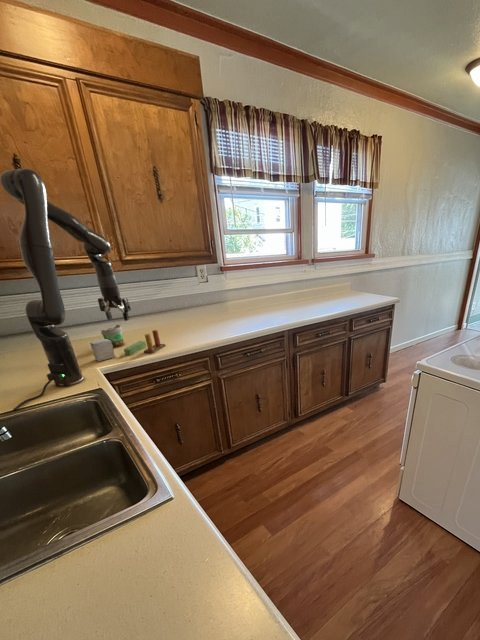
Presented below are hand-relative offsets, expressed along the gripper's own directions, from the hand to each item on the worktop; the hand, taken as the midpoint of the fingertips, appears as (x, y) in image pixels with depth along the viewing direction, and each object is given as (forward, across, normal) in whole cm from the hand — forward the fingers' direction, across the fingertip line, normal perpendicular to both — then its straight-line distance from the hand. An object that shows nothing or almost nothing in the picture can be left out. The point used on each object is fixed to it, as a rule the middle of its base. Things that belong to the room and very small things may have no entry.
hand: (118, 320), depth 158 cm
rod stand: (+18, +10, +8) cm, 22 cm away
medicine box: (+17, -7, -8) cm, 20 cm away
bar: (+17, +1, +5) cm, 18 cm away
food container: (+18, -13, +11) cm, 25 cm away
